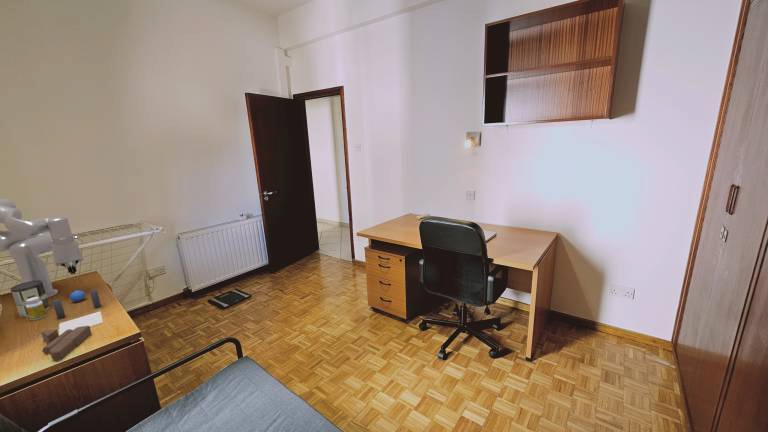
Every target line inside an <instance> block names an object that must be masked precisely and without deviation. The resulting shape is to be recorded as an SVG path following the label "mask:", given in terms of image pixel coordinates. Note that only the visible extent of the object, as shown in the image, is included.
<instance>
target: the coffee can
mask: <svg viewBox="0 0 768 432" xmlns="http://www.w3.org/2000/svg"><path fill="white" fill-rule="evenodd" d="M9 290H10V291H11V294H12V296H13V299H14V303H15V306H16V308H17V311H18V314H19V316H20V317H29V316H28V312H27V309H26V305H27V302H26V300H27V299H29V298H33V297H39V301H42V302H43V305H44V308H45V311H48V310H49V309H51V305H50V302H49V299H48V298H47V296H46V293H45V289H44V286H43V282H42V281H41V280H36V281H29V282H25V283H23V282H22V283H18V284H16V285H13V286H12V287H10V288H9Z"/></svg>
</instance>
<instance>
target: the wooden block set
mask: <svg viewBox="0 0 768 432" xmlns="http://www.w3.org/2000/svg"><path fill="white" fill-rule="evenodd" d="M40 333H41V337H42V339H43V342H44V343H46V344H47V345H45V346H44V347H43V348H42V350H41V351H42V353H43V354H44V355H49V354H50V357H51V359H52V360H53V361H54V362H59V361H62V360H63V359H64V358H65V357H67V355H69V354H70V353H71V352H72V351H73V350H75V348H78V347H79V346H80V345H81V344H82V343H84V342H85V340H87V339H88V338H89V337H90V336H91V335H92V330H91V327H90V326H82V327H77V328H75V329H74V330H71V329H69V330H66V331H65V332H63V333H62V334H61V335H60V336H59V330H58V329H50V330H49V329H48V330H41V331H40Z"/></svg>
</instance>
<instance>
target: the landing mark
mask: <svg viewBox="0 0 768 432" xmlns="http://www.w3.org/2000/svg"><path fill="white" fill-rule="evenodd" d="M103 323H104V320H103V316H102V312H101V310H100V311H97V312H94V313H89V314H85V315H83V316H80V317H77V318H74V319H73V318H72V319H70V320H66V321H63V322H60V323H58V324H59V326H58V328H59V329H58V335H59V336H60V335H61V334H62V333H63V332H65V331H66V330H69V329H71V330H74V329H75V328H77V327H82V326H90V328H91V327H94V326H97V325H102V324H103Z"/></svg>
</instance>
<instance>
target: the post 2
mask: <svg viewBox="0 0 768 432" xmlns="http://www.w3.org/2000/svg"><path fill="white" fill-rule="evenodd" d="M89 294H90V297H91V301H92V305H93V308H94V309H100V308H101V307H102V304H101V301H100V300H101V299H100V296H99V292H98V289H92V290H90V291H89Z"/></svg>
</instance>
